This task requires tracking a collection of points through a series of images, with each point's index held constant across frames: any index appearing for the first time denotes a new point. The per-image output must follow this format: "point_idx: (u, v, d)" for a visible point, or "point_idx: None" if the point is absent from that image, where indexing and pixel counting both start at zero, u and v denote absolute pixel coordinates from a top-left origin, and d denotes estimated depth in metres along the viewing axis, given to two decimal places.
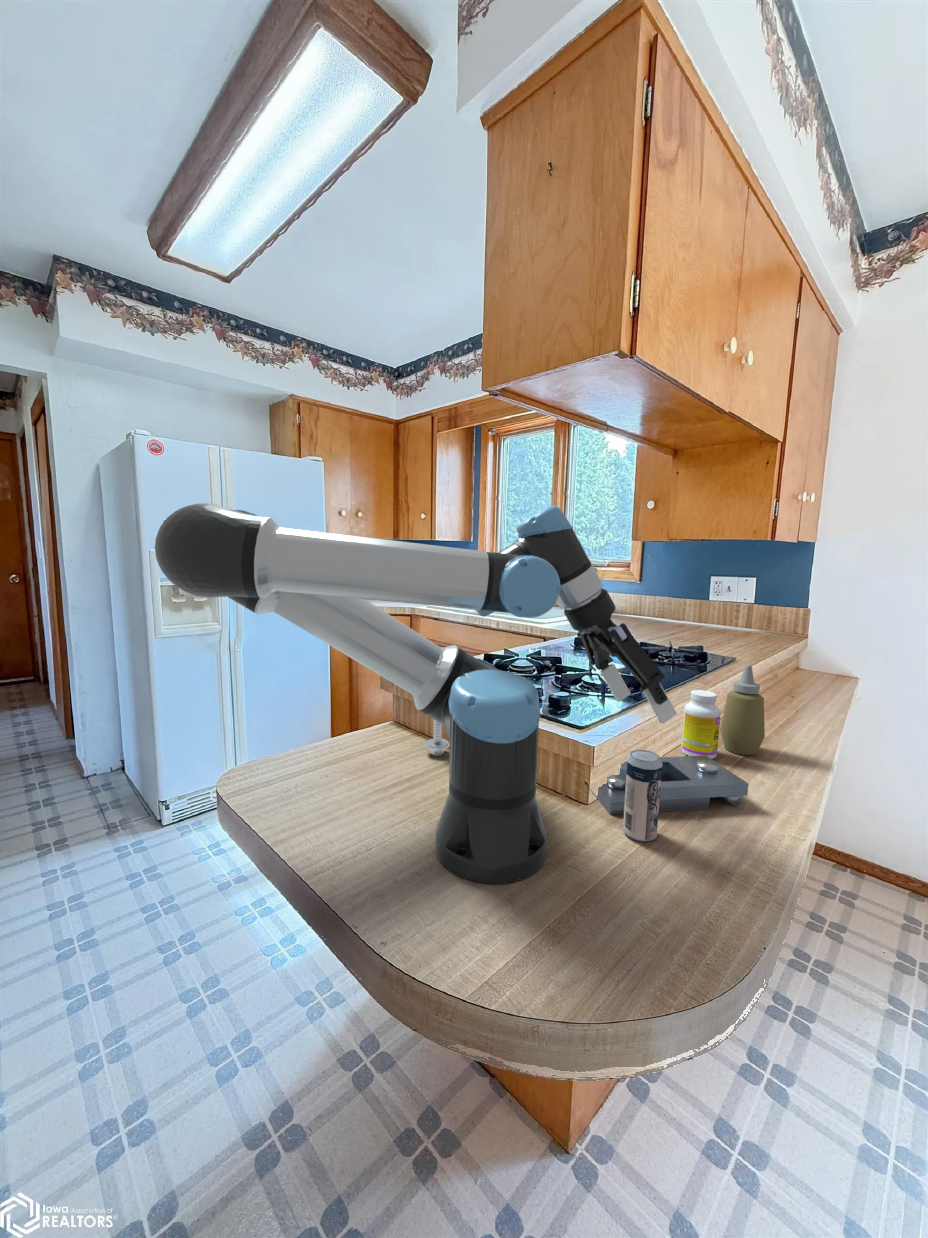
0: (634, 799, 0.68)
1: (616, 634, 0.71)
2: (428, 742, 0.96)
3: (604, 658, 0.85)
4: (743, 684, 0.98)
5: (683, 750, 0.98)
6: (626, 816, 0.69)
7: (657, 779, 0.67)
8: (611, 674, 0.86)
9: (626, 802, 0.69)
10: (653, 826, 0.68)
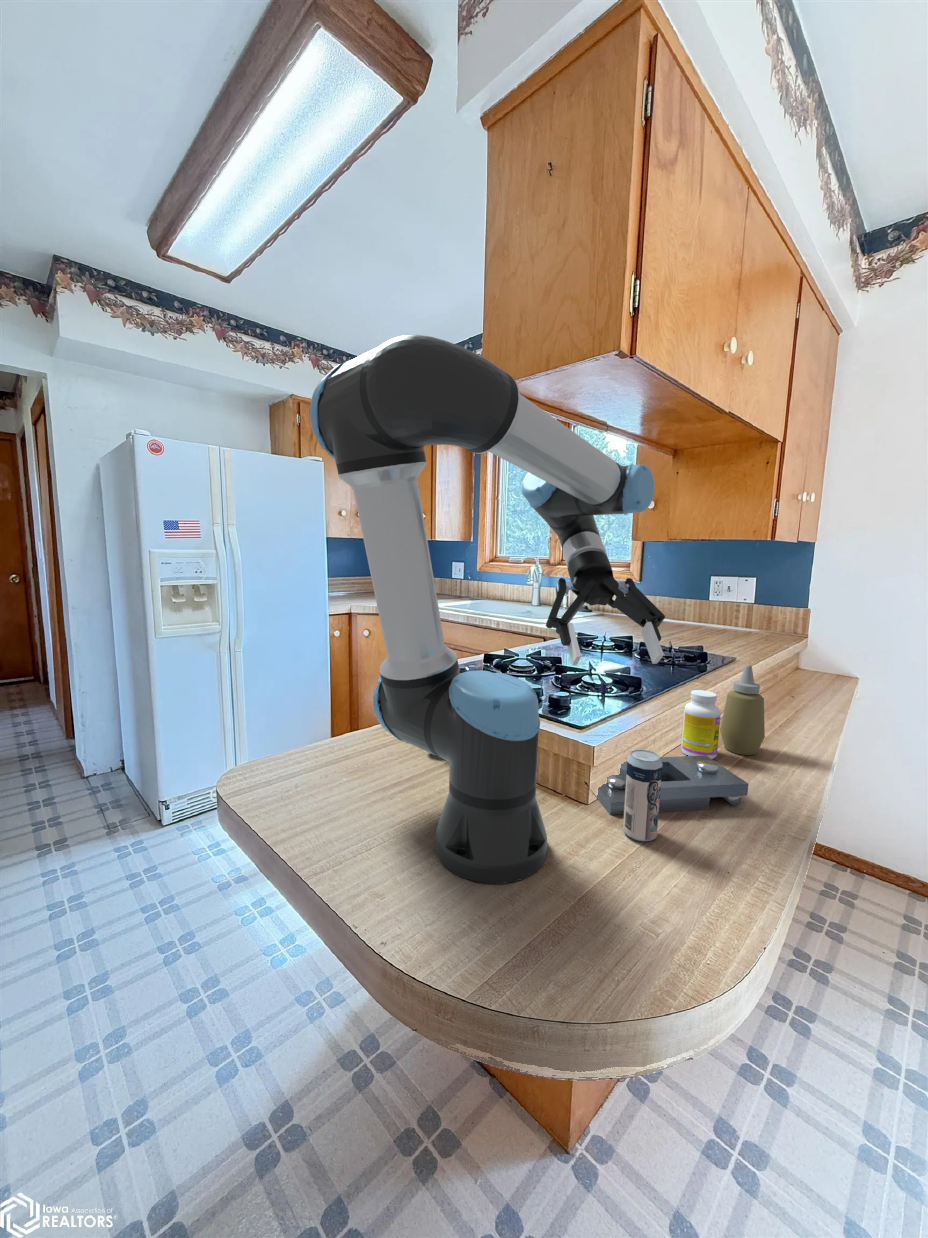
0: (634, 799, 0.68)
1: None
2: None
3: (571, 617, 0.82)
4: (743, 684, 0.98)
5: (683, 750, 0.98)
6: (626, 816, 0.69)
7: (657, 779, 0.67)
8: None
9: (626, 802, 0.69)
10: (653, 826, 0.68)
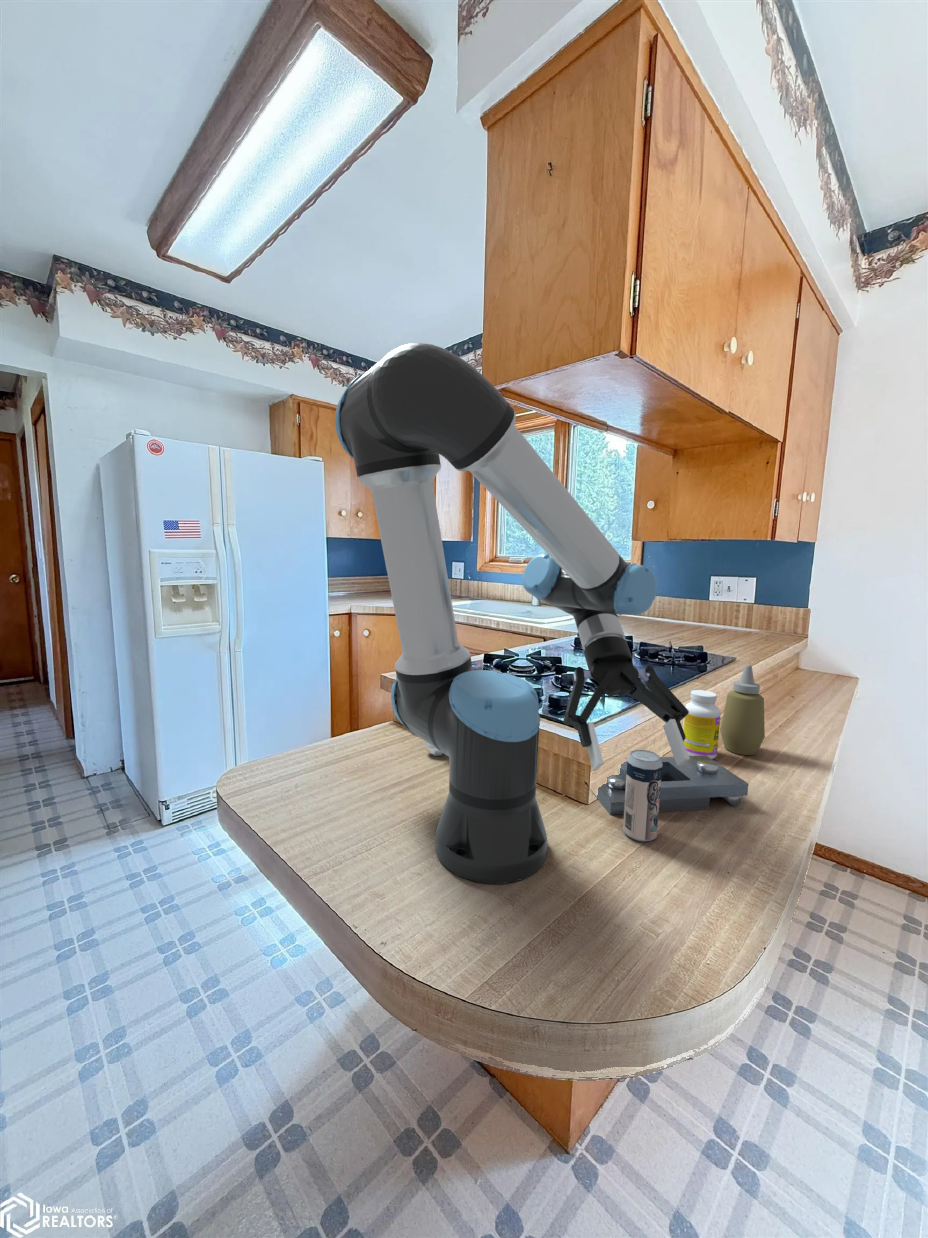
0: (634, 799, 0.68)
1: None
2: None
3: None
4: (743, 684, 0.98)
5: None
6: (626, 816, 0.69)
7: (657, 779, 0.67)
8: None
9: (626, 802, 0.69)
10: (653, 826, 0.68)
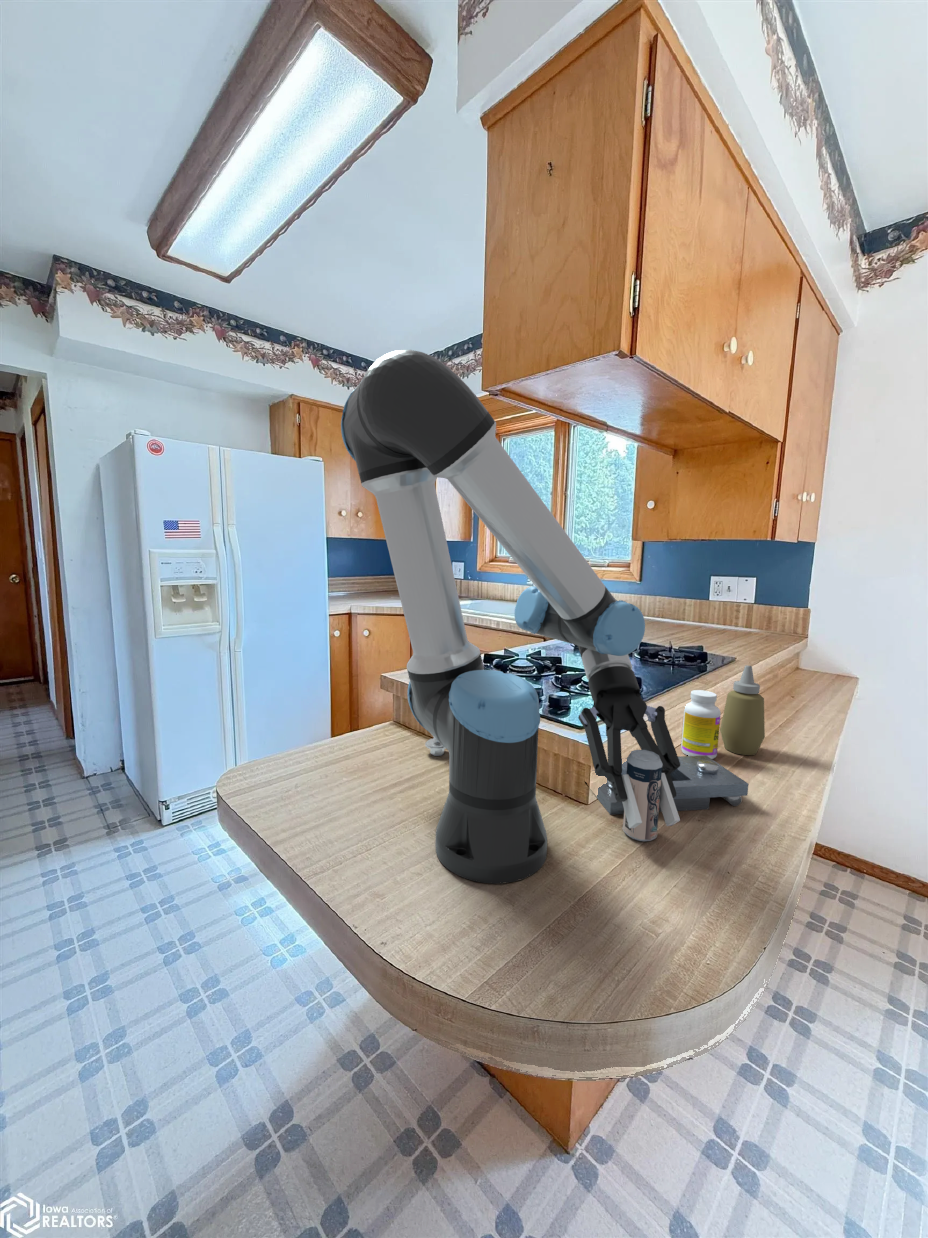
0: None
1: None
2: (428, 742, 0.96)
3: None
4: (743, 684, 0.98)
5: (683, 750, 0.98)
6: None
7: (657, 779, 0.67)
8: None
9: None
10: (653, 826, 0.68)
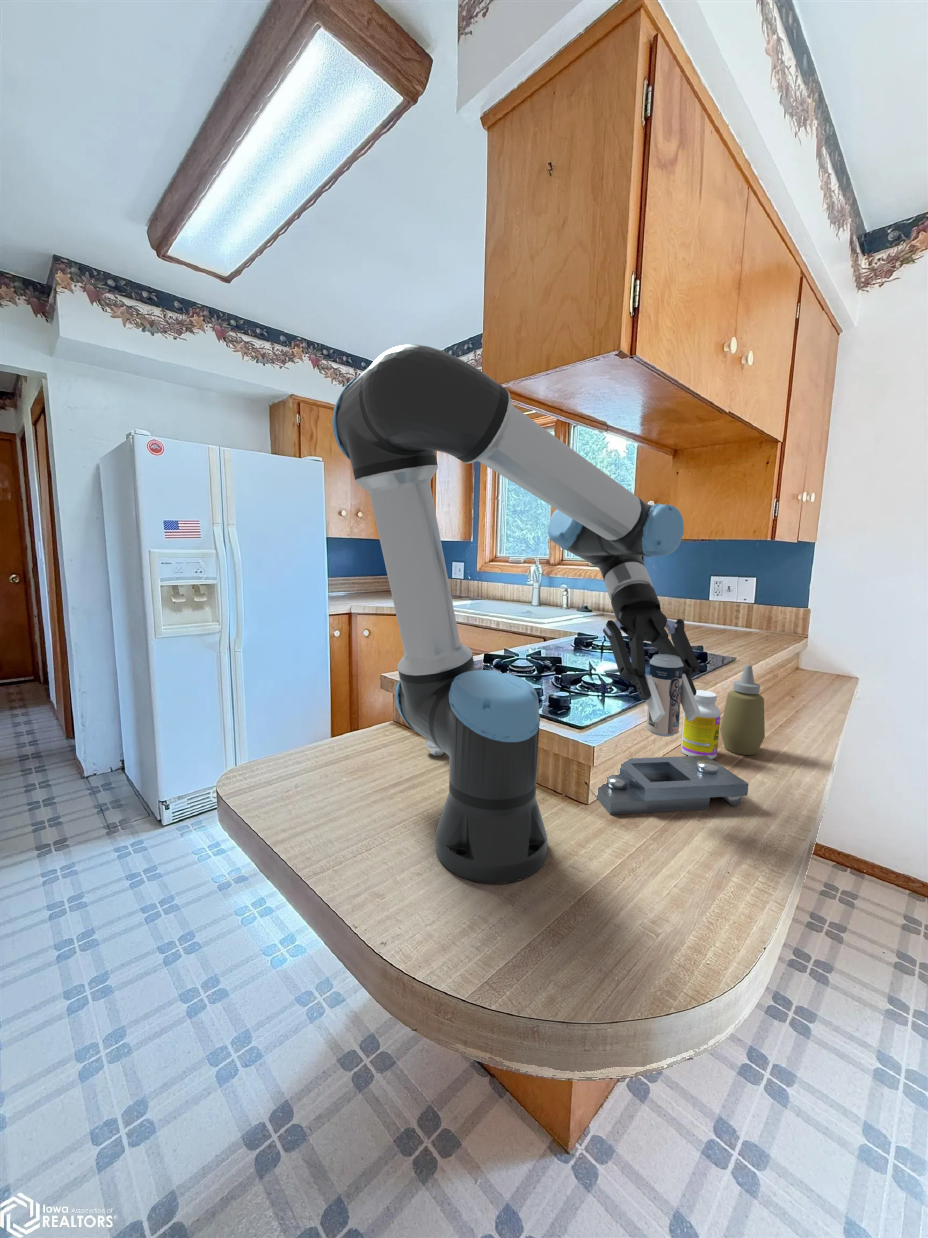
0: None
1: None
2: (428, 742, 0.96)
3: None
4: (743, 684, 0.98)
5: (683, 750, 0.98)
6: None
7: (678, 677, 0.72)
8: None
9: None
10: (675, 721, 0.73)
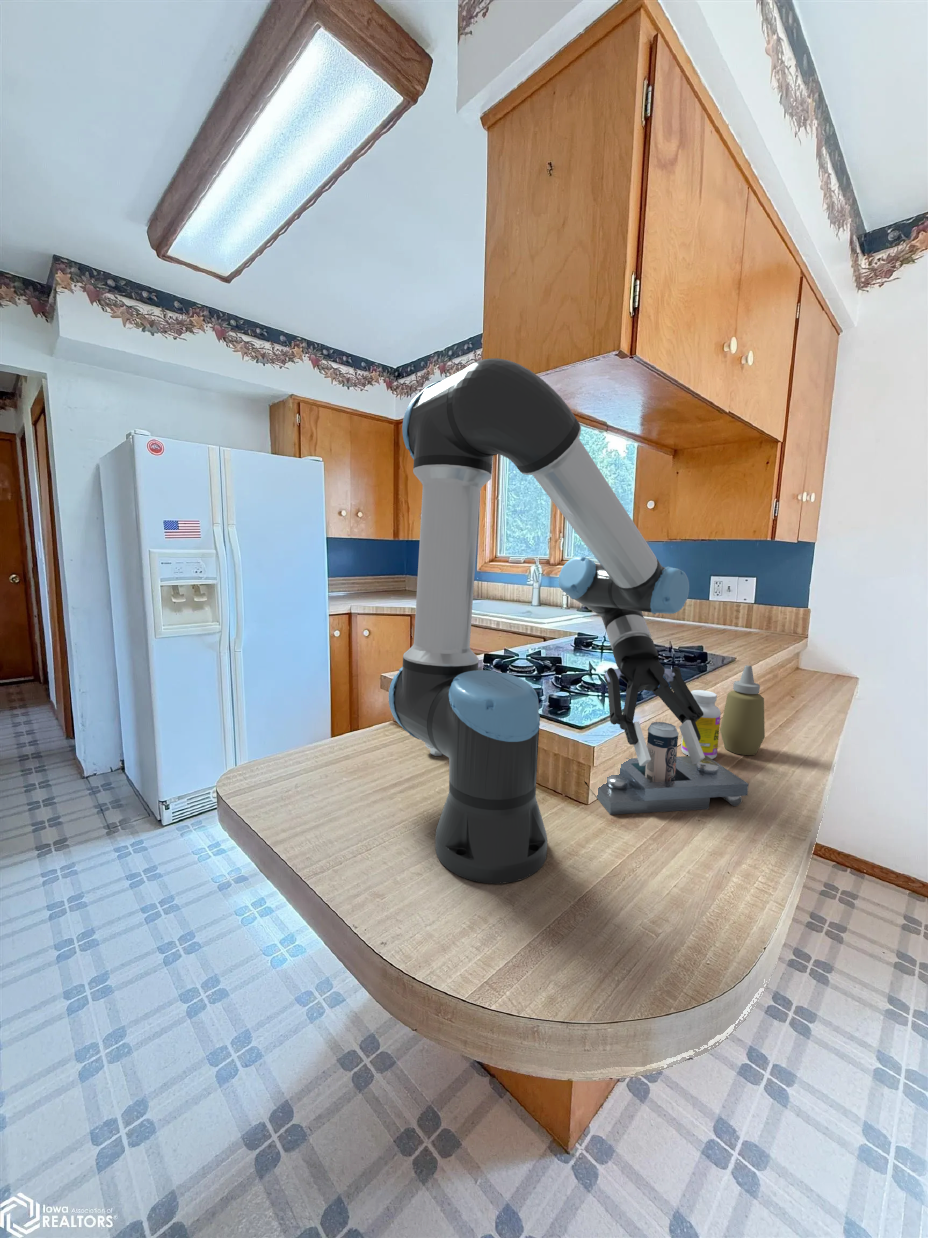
0: (654, 763, 0.80)
1: None
2: None
3: None
4: (743, 684, 0.98)
5: (683, 750, 0.98)
6: (647, 778, 0.81)
7: (674, 745, 0.79)
8: None
9: (647, 766, 0.81)
10: None
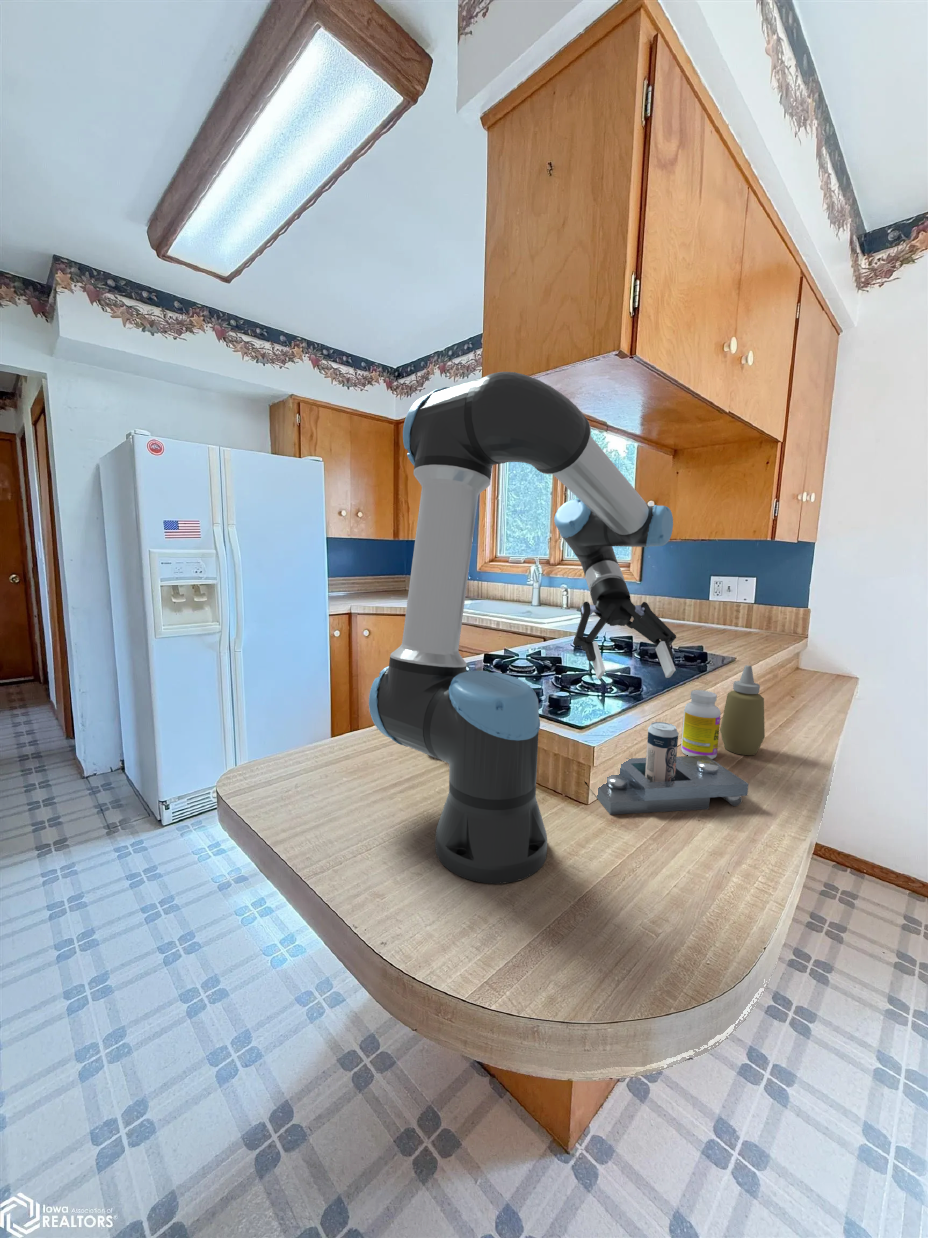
0: (654, 763, 0.80)
1: None
2: None
3: (595, 636, 0.94)
4: (743, 684, 0.98)
5: (683, 750, 0.98)
6: (647, 778, 0.81)
7: (674, 746, 0.79)
8: None
9: (647, 766, 0.81)
10: None
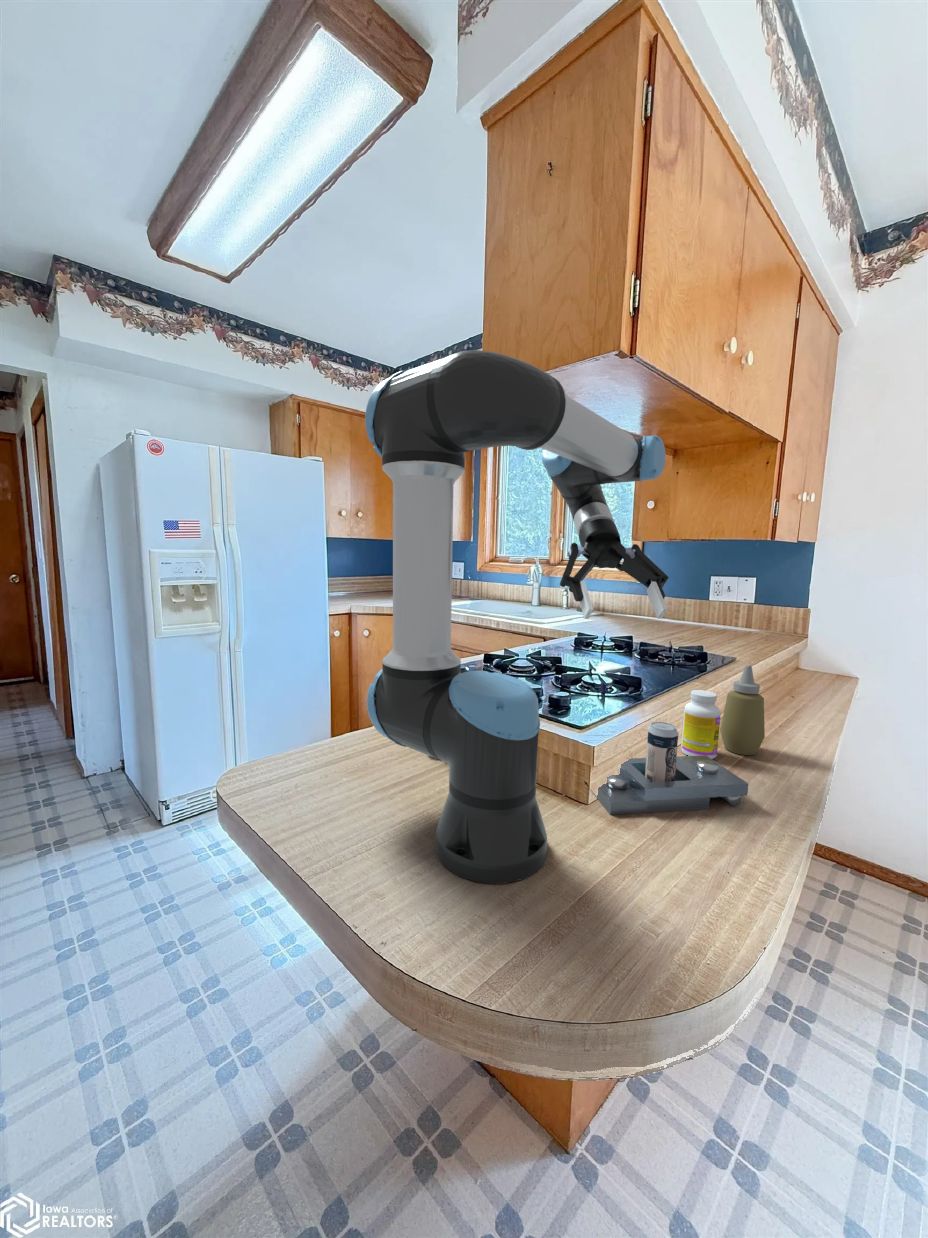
0: (654, 763, 0.80)
1: None
2: None
3: (583, 577, 0.90)
4: (743, 684, 0.98)
5: (683, 750, 0.98)
6: (647, 778, 0.81)
7: (674, 746, 0.79)
8: None
9: (647, 766, 0.81)
10: None
